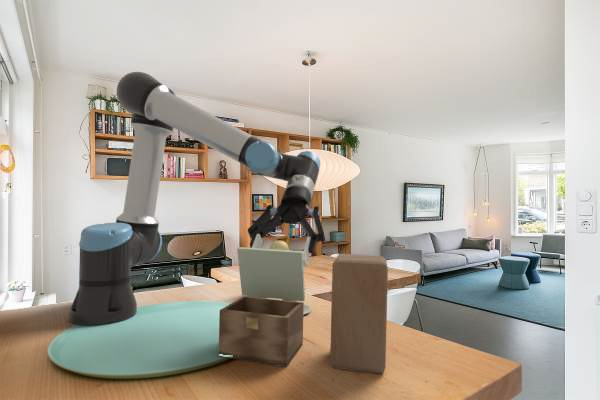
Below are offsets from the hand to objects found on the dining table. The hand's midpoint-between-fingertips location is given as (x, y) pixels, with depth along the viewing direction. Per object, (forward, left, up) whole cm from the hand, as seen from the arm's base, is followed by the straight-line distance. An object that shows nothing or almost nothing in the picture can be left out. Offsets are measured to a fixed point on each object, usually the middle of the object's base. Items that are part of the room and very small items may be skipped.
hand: (277, 261), depth 81 cm
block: (+17, -11, -17) cm, 27 cm away
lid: (-1, -4, -2) cm, 5 cm away
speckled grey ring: (+2, +19, -18) cm, 26 cm away
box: (-2, -8, -17) cm, 19 cm away
